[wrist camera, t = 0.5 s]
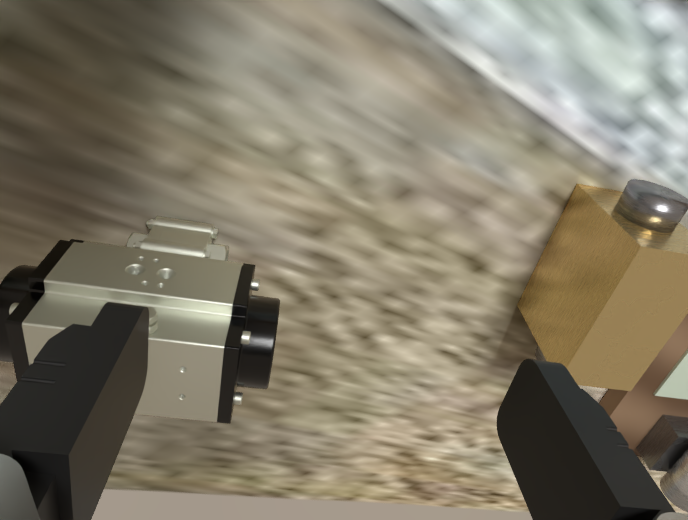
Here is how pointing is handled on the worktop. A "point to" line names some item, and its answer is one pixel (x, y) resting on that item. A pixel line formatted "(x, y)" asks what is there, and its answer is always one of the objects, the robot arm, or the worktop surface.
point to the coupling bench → (659, 415)
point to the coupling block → (610, 283)
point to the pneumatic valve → (154, 313)
